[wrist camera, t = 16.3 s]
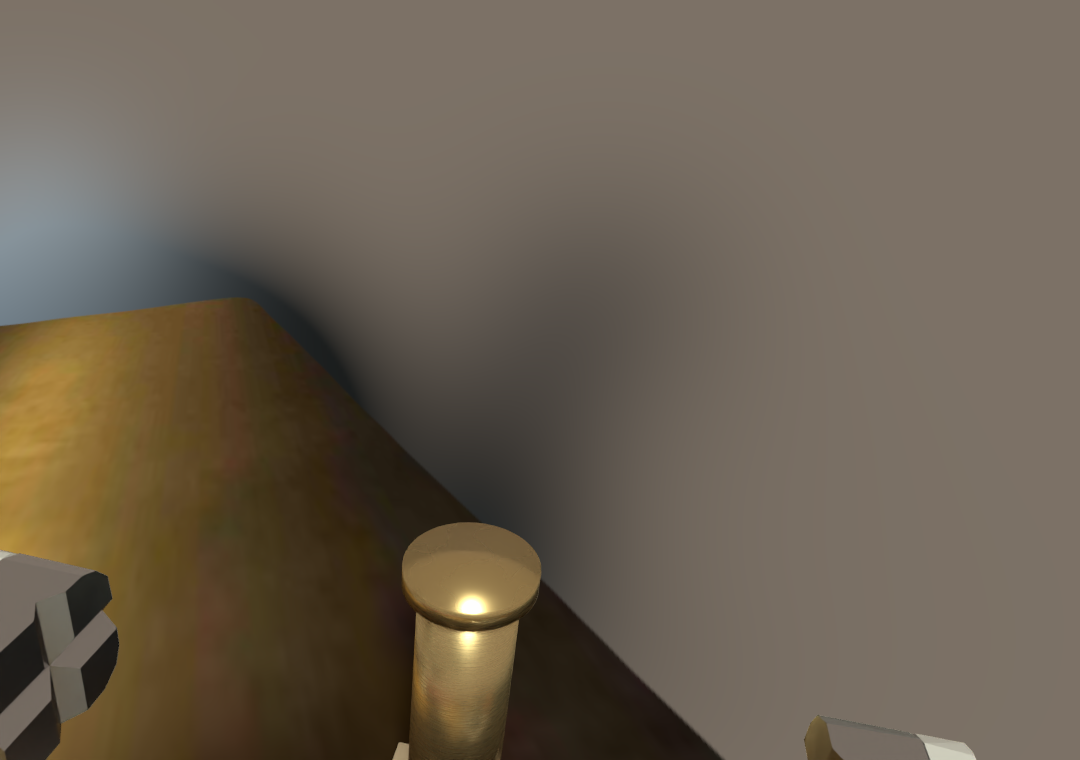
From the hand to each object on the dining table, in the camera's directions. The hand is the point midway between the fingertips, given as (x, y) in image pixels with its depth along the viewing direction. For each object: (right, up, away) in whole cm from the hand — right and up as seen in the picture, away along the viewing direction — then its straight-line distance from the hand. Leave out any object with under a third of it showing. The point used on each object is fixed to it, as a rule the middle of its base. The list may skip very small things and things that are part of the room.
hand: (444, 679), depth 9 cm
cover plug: (-4, -20, +32) cm, 38 cm away
